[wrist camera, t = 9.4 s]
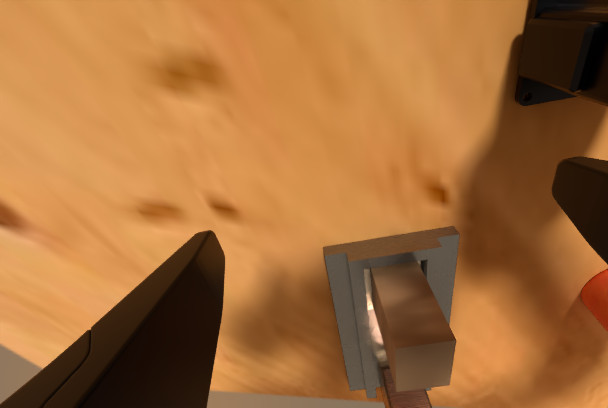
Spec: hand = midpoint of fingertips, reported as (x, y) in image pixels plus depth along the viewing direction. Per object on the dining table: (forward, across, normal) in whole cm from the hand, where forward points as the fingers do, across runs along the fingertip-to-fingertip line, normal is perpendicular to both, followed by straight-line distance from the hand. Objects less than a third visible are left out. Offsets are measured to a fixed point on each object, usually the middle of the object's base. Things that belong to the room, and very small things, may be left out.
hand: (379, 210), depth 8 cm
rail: (+12, -2, +21) cm, 25 cm away
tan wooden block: (+11, -2, +15) cm, 19 cm away
